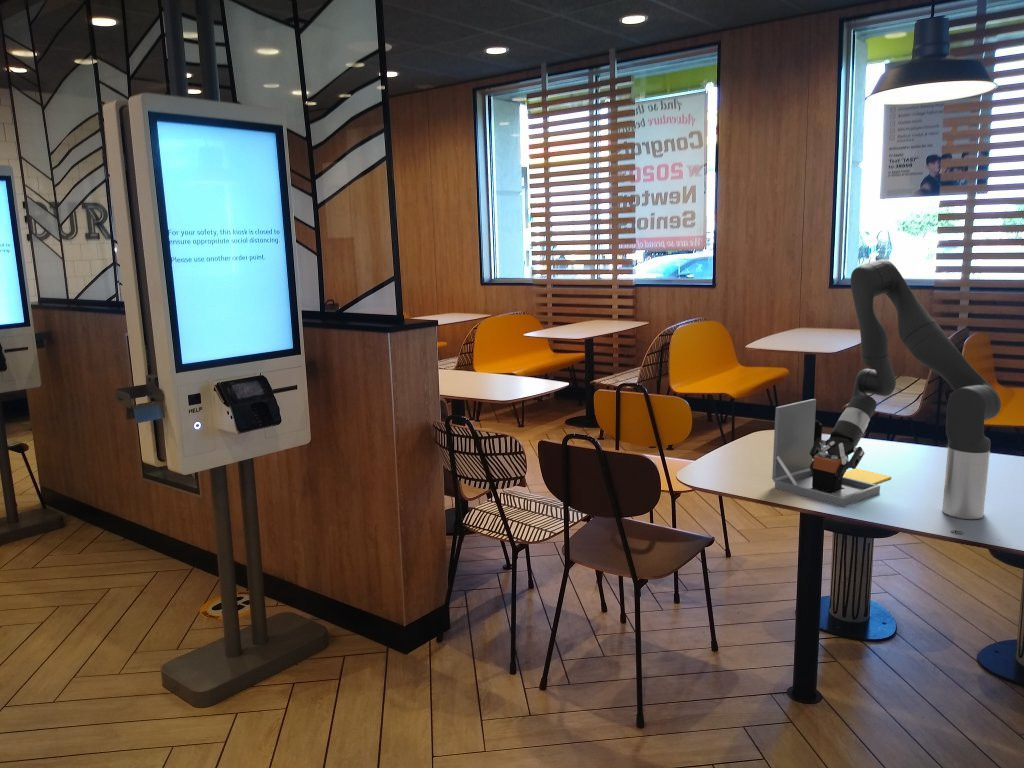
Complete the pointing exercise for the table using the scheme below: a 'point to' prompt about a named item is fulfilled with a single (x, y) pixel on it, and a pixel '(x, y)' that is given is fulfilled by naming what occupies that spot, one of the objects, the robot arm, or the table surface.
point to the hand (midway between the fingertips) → (824, 474)
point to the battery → (826, 472)
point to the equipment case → (806, 457)
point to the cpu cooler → (817, 430)
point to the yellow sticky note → (866, 476)
